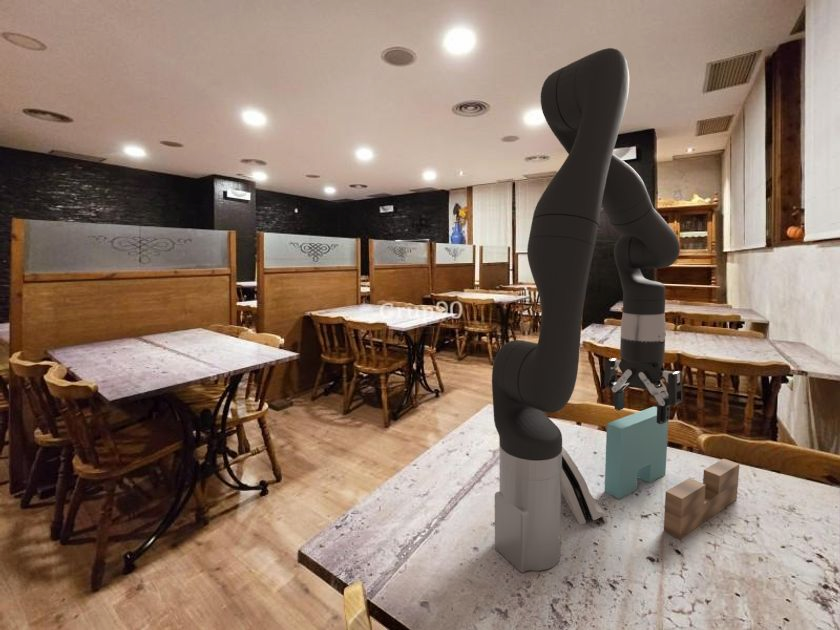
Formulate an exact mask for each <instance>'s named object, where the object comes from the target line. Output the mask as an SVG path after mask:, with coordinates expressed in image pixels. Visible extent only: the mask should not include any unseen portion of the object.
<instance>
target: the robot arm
mask: <svg viewBox="0 0 840 630" xmlns="http://www.w3.org/2000/svg"><path fill="white" fill-rule="evenodd" d="M628 66H629V65H628V61H627V59H626V57H625V55H624V54H623V52H622V51H620V50H618V48H612V47H610V48H603V49H600V50H597V51H595V52H592V53H589V54H588V55H585V56H584V57H582V58H580V59H577V60H575V61H573V62H571V63H569V64H567V65H565V66H563V67H561V68H559V69H557V70H555V71H553V72H552V73H550V74H549V75H548V76H547V77H546V79H545V80H544V81H543V84H542V86H541V91H540V106H541V111H542V114H543V117H544V119H545V121H546V123H547V125H548V126H549V128H550V130H551V132H552V134H553V135H554V136H555V138H556V139H557V140H558V141H559V143H560V144H561V146H562V147H563V148H564V150H565V151H566V153H567V154H568V155H567V156H566V159H564V162H563V164H562V165H561V166H560V168H559V169H558V171H557V172H556V174H555V175H554V176H553V178H552V179H551V181H549V184H548V185H547V187H546V188H545V190H544V191H543V192H542V194H541V196H540V198H539V199H538V202H537V203H536V206H535V208H534V212H533V215H532V220H531V226H530V231H529V237H528V241H527V248H526V249H527V251H526V255H527V261H528V265H529V268H530V273H531V275H532V278H533V281H534V285H535V287H536V289H537V290H536V291H537V293H538V297H539V301H540V305H541V307H540V308H541V315H540V316H541V317H540V318H541V319H540V320H541V321H540V326H539V327H540V328H539V335H538V341H537V343H536V342H531V341H528V340H521V339H515V340H513V339H512V340H510V341H508V342H506V343H504V344H503V345H502V346H501V347H500V349H499V350H498V351H497V353H496V355H495V357H494V361H493V365H492V370H491V391H492V393H491V394H492V406H493V407H492V409H493V411H492V412H493V422H494V427H495V429H496V432H497V433H498V439H499V443H498V444H499V445H498V446H499V462H498V463H499V467H498V468H499V491H497V492H495V493H494V549H495V550H496V551H497V552H499V554H500V555H502V556H503V558H505V560H507V561H508V562H509V563H510V564H511V565H513V566H514V567H515V568H516V569H517V570H518V571H519V572H521V573H526V572H527V571H536V572H537V571H546V570H548V569H551V568H553V567H555V565H557V564H558V562H559V561H560V558H561V540H562V539H561V538H562V537H561V536H562V535H561V530H562V529H561V528H562V524H561V523H562V522H561V521H562V520H561V518H562V493H561V478H562V447H563V435H562V432H561V429H560V428H559V427H558V425H556V423H554V422H553V421H552V420H551V419H550V418H549V416H548V415H547V414H546V413H550V414H552V413H553V414H554V413H558V412H559V411H561V410H562V409H563V408H564V407H566V406H567V404H568V403H569V401H570V399H571V397H572V395H573V393H574V390H575V387H576V382H577V378H578V377H577V376H578V371H579V362H580V349H581V348H580V347H581V335H582V323H583V315H584V314H583V312H584V305H585V300H586V293H587V286H588V280H589V274H590V268H591V265H592V260H593V257H594V250H595V246H596V242H597V241H596V240H597V236H598V230H599V225H600V218H601V217H600V216H601V212H602V211H601V210H602V208H603V211H604V213H605V215H606V217H607V220H608V222H609V224H610V226H611V227H612V229H613V230H614V231H615V232H616V233H618V234H619V235H621V236H619V237H618V239H617V240H616V243H615V244H614V249H613V255H614V261H615V265H616V268H617V271H618V276H619V278H620V283H621V287H622V288H621V289H622V292H623V293H622V295H623V297H622V317H621V320H620V321H621V322H620V341H619V342H620V346H619V347H620V348H619V350H620V351H619V357H620V360H618V358H616V357H613V358H609V359H606V360H605V366H604V377H603V378H604V379H603V385H604V387H606V388H609V389H610V390H611V391H612V405H613V407H614V410H616V411H622V410H623V409H624V408H625V391H624V389H626V387H628V385H629V386H632V387H638V388H641V389H642V390H643V389H644V390H648V392H649V393H650V394H651V395H652V396H654V398H655V400H656V402H657V403H658V404H657V406H656V407H657V423H658V424H664V423H666V421H668V422H669V420H670V417H671V414H670V413H671V406H676V405H678V404H681V403H683V372H682V371H680V370H676V371H671V370H665V367H664V361H665V351H666V335H667V333H666V332H667V331H666V330H667V329H666V328H667V324H666V314H665V311H666V286H665V285H664V284H663V283H662V282H659V281H655V280H650V279H647V278H645V277H644V275H643V273H642V272H641V269H665V268H668V267H670V266H672V265H674V263H675V262H676V261H677V259H678V257H679V255H680V250H681V247H680V246H681V245H680V241H679V238H678V236H677V234H676V232H675V231H674V230H673V228H672V227H671V225H669V224H668V223H667V221H666V220H665V218H663V217H662V215H661V214H660V213H659V212H658V211H657V210H656V209H655V208H654V206H653V203H652V201H651V197H650V194H649V192H648V190H647V187H646V185H645V183H644V180H643V178H642V177H641V176H640V175H639V173H638V172H637V171H636V170H635V169H634V168H633V167H632V166H630V164H628V163H627V162H625V161H624V160H623V159H621V158H620V157H619V156H617V155H616V154H614V149H615V146H616V143H617V139H618V135H619V132H620V129H621V125H622V122H623V118H624V115H625V111H626V107H627V103H628V98H629V93H630V92H629V89H630V72H629V67H628ZM618 370H620V372H621V374H622V375H621V376H620V377H619V378H618ZM617 378H618V379H617ZM663 378H664V379H665V382H666V383H667V386H666V384H664V382H663V380H662V379H663ZM667 387H668V389H667Z"/></svg>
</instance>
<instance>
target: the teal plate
mask: <svg viewBox="0 0 840 630" xmlns="http://www.w3.org/2000/svg"><path fill="white" fill-rule="evenodd" d="M668 433H669V420H668V421H666V423H664V424H658V423H657V406H652V407H649V408H646V409H643V410H641V411H638V412H634V413H631V414H629V415H626V416H624V417H620V418H618V419H615V420H612V421H610V422H607V423H606V436H605V437H606V441H605V464H604V465H605V470H604V492H605V493H607V494H609V495H610V496H612V497H614V498H616V499H618V500H620V499H622V498H624V497H626V496H628V495H630V494H632V493H633V492H635V491H637V490H638V479H640V480H643V481H645V482H647V483H652V482H655V481H656V480H658V479H660V478H662V477H664V476H665V475H666V473H667V472H666V470H667V450H668V436H669V434H668Z"/></svg>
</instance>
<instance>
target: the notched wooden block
mask: <svg viewBox="0 0 840 630" xmlns="http://www.w3.org/2000/svg"><path fill="white" fill-rule="evenodd" d="M739 473H740V463H737V462H735V461H732V460H729V459H726V458H722V459H720V460H719V461H717V462H716V463H713V464H712V465H710V466H708V467H706V468H704V469H703V475H702V476H703V477H702V478H703V479H702V482H700V481H698V480H695V479H693V478H691V477H689V478H687V479H685V480H683V481H681V482H679V483H678V484H676V485H675V486H672V487H671V488H669V489H667V490H665V497H664V498H665V499H664V500H665V501H664V516H663V518H664V519H663V531H664V532H666V533H668V534H669V535H671V536H673V537H674V538H677V539H679V540H680V539H682V538H683V537H685V536H686V535H688V534H689V533H690V532H692V531H694V530H695V529H697V528H698V527H699V526H701V525H702V524H703V523H705V522H707V521H708V520H710V519H711V518H712V517H714V516H715V515H716V514H718V513H720V511H721V512H722V510H724V509H725V508H726V507H728V506H729V505H732V503H734V502H735V501H736V500H737V499H738V487H739V477H740V476H739Z"/></svg>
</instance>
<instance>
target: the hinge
mask: <svg viewBox="0 0 840 630" xmlns="http://www.w3.org/2000/svg"><path fill="white" fill-rule="evenodd" d="M561 496H562V497H563V498H564V500H565V502H566V504H567V505H568V507H569V509H570V510H571V512H572V514H573V517H575V519H576V521H577V523H578V524H580V525H581V524H582V525H584V524H587V521H588V518H589V519H592V520H593V521H596V520H598V519H600V518H601V520H603V522H604V524H607V523H608V522H609V521H608V519H607V516H606V514H605V512H604V511H603V509H602V507H601V506H600V505H599V503H598V502H597V501H596V500H595V498H594V496H593V495H592V493H591V492H590V489H589V487H588V485H587V482H586V480H585V478H584V477H583V475H582V473H581V471H580V470H579V468H578V466H577V465H576V463H575V461H574V460H573V459H572V457H571V456H570V455H569V453H568V451H567V450H566V449H565V448H564V447H563V446H562V478H561ZM586 514H587V515H586ZM587 516H588V518H587Z"/></svg>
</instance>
